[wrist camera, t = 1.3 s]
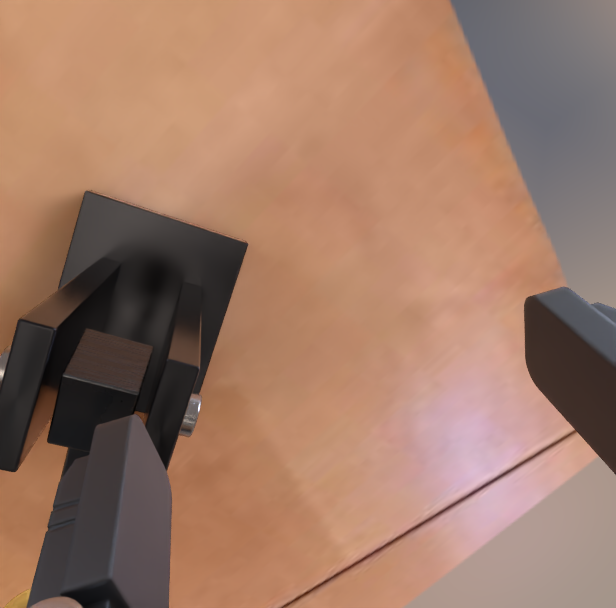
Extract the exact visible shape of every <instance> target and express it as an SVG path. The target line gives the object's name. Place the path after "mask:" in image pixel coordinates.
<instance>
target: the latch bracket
mask: <svg viewBox="0 0 616 608" xmlns="http://www.w3.org/2000/svg"><path fill="white" fill-rule="evenodd" d="M247 246H248V243H247V242H246V241H244V240H241V239H238V238H235V237H232V236H229V235H226V234H223V233H220V232H217V231H214V230H211V229H208V228H204V227H201V226H198V225H195V224H192V223H189V222H186V221H183V220H180V219H177V218H174V217H171V216H168V215H165V214H162V213H159V212H156V211H153V210H150V209H147V208H144V207H141V206H138V205H135V204H131V203H128V202H125V201H122V200H119V199H116V198H113V197H110V196H107V195H104V194H101V193H98V192H95V191H92V190H88V191H85V193H84V197H83V201H82V204H81V208H80V211H79V215H78V219H77V222H76V226H75V229H74V233H73V236H72V240H71V244H70V247H69V251H68V254H67V258H66V262H65V265H64V269H63V272H62V276H61V279H60V283H59V287H58V290H57V291H56V292H55V293H53V294H52V295H51V296H49V297H48V298H47V299H45V300H44V301H43V302H41V303H40V304H39V305H37V306H36V307H35V308H33V309H32V310H31V311H29V312H28V313H27V314H25V315H24V316H23V317H21V318H20V319H19V320H18V323H17V326H16V330H15V334H14V337H13V341H12V345H11V346H8V347H7V348H6V349H5V350H4V351H3V353H2V355H1V356H0V470H5V471H10V472H16V471H17V470H18V468H19V467H20V465H21V464H22V462H23V461H24V459H25V457H26V456H27V454H28V453H29V451H30V450H31V448H32V447H33V445H34V444H35V442H36V440H37V439H38V437H39V436H40V434H41V433H42V431H43V430H44V428H45V427H46V425H47V423H48V422H49V420H50V419H51V417H52V416H53V411H54V407H55V402H56V398H57V393H58V389H59V384H60V379H61V375H62V373H63V371H64V369H65V367H66V365H67V363H68V361H69V359H70V357H71V355H72V353H73V351H74V349H75V347H76V345H77V343H78V341H79V339H80V338H81V336H82V334H83V332H84V330H85V329H86V328H88V329H92V330H96V331H99V332H103V333H107V334H110V335H114V336H118V337H121V338H125V339H129V340H132V341H136V342H140V343H143V344H147V345H151V346H153V347H154V350H153V353H152V357H151V360H150V363H149V366H148V370H147V373H146V376H145V379H144V383H143V386H142V389H141V393H140V396H139V399H138V402H137V405H136V409H135V411H138V412H143V413H145V414H144V417H143V421H142V422H143V424H144V426H145V428H146V430H147V432H148V434H149V436H150V438H151V440H152V442H153V444H154V446H155V448H156V450H157V453H158V455H159V457H160V459H161V461H162V463H163V465H164V467H165V469H166V472H167V469H168V466H169V463H170V460H171V457H172V454H173V451H174V448H175V445H176V442H177V439H178V435H181V436H185V437H190V436H191V435H192V433H193V430H194V428H195V425H196V422H197V418H198V415H199V411H200V407H201V402H202V396H201V395H200V394H199V393H200V390H201V387H202V384H203V381H204V378H205V375H206V372H207V368H208V365H209V362H210V359H211V356H212V353H213V350H214V347H215V344H216V341H217V338H218V335H219V332H220V329H221V326H222V323H223V320H224V316H225V313H226V310H227V307H228V304H229V301H230V298H231V295H232V292H233V289H234V286H235V283H236V280H237V277H238V274H239V271H240V268H241V265H242V261H243V258H244V255H245V252H246V249H247Z"/></svg>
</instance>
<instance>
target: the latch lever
mask: <svg viewBox="0 0 616 608" xmlns="http://www.w3.org/2000/svg"><path fill="white" fill-rule="evenodd" d="M153 350H154V347H153V346H151V345H147V344H143V343H140V342H136V341H132V340H129V339H125V338H121V337H118V336H114V335H110V334H107V333H103V332H99V331H96V330H92V329H88V328H86V329H85V330H84V332H83V334H82V336H81V338H80V339H79V341H78V343H77V345H76V347H75V349H74V351H73V353H72V355H71V357H70V359H69V361H68V363H67V365H66V367H65V369H64V371H63V373H62V375H61V379H60V384H59V389H58V393H57V398H56V402H55V407H54V411H53V416H52V421H51V425H50V430H49V434H48V439H47V442H48V443H50V444H55V445H59V446H63V447H68V451H67V455H66V459H65V463H64V467H63V471H62V475H61V479H62V478H63V476H64V475H65V473H66V472H67V471H68V469H69V468H70V466H71V465H72V463H73V462H74V460H75V459H77V458H81V457H84V456H88V455H89V454H90V449H91V444H92V439H93V435H94V430H95V428H96V426H97V425H99V424H103V423H106V422H110V421H113V420H116V419H120V418H123V417H127V416H130V415H133V414H134V412H135V409H136V405H137V402H138V399H139V396H140V393H141V389H142V386H143V383H144V379H145V376H146V373H147V370H148V366H149V363H150V360H151V357H152V353H153ZM61 479H60V481H61ZM53 511H54V509H53ZM30 591H31V589H28V590H26V591H24V592H22V593H20V594H19V595H17V596H16V597H14V598H13V599H12V600H11V601H10V602H9V603H8V604H7V605H6V606H5V607H4V608H26V606H27V603H28V599H29V595H30Z"/></svg>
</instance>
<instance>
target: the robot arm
mask: <svg viewBox="0 0 616 608" xmlns="http://www.w3.org/2000/svg"><path fill="white" fill-rule="evenodd" d="M524 321H525V358H526V364H527V368H528V371H529V374H530V376H531V378H532V380H533V382H534V383H535V385H536V386H537V387H538V389H539V390H540V391H541V392H542V393H543V394H544V395H545V396H546V398H547V399H548V400H549V401H550V402H551V403H552V404H553V405H554V406H555V408H556V409H557V410H558V411H559V412H560V413H561V414H562V415H563V416H564V418H565V419H566V420H567V421H568V422H569V423H570V424H571V425H572V426H573V428H574V429H575V430H576V431H577V432H578V433H579V434H580V435H581V436H582V438H583V439H584V440H585V441H586V442H587V443H588V444H589V445H590V446H591V448H592V449H593V450H594V451H595V452H596V453H597V454H598V455H599V457H600V458H601V459H602V460H603V461H604V462H605V463H606V464H607V465H608V466H609V468H610V469H611V470H612V471H613V472H614V473H615V474H616V309H615V308H612V307H609V306H606V305H604V304H601V303H594V304H589V303H588V302H587V301H585V300H584V299H583V298H581V297H580V296H579V295H577V294H576V293H575V292H573V291H572V290H571V289H569V288H567V287H560V288H557V289H554V290H550V291H547V292H543V293H540V294H537V295H533V296H530V297H528V298H527V299H526V300H525V304H524ZM53 509H54V511H52V512H51V515H50V519H49V523H48V531H47V532H46V534H45V538H44V542H43V546H42V549H41V553H40V557H39V561H38V565H37V568H36V572H35V576H34V580H33V584H32V587H31V591H30V595H29V599H28V603H27V606H26V608H169V580H170V546H171V513H172V494H171V487H170V482H169V478H168V475H167V472H166V469H165V467H164V465H163V463H162V461H161V459H160V457H159V455H158V453H157V450H156V448H155V446H154V444H153V442H152V440H151V438H150V436H149V434H148V432H147V430H146V428H145V426H144V424H143V422H142V420H141V419H140V417H139V416H138V415H137V414H133V415H130V416H127V417H123V418H120V419H116V420H113V421H110V422H106V423H103V424H99V425H97V426H96V428H95V430H94V435H93V439H92V444H91V449H90V454H89V455H88V456H84V457H81V458H77V459H75V460H74V462H73V463H72V465H71V466H70V468H69V469H68V471H67V472H66V473H65V475H64V476H63V478H62V479H61V481H60V482H59V485H58V489H57V493H56V496H55V500H54V504H53Z"/></svg>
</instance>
